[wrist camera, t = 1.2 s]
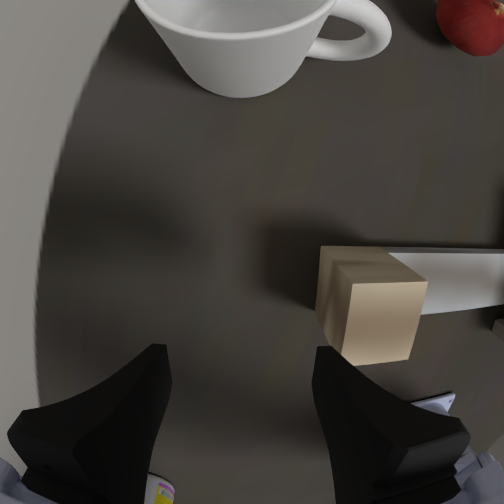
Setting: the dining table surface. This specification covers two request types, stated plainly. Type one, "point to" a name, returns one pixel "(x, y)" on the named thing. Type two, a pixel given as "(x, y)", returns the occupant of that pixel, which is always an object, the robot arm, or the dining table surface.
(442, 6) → the pomegranate
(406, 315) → the beige piece
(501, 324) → the green top stand
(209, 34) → the mug
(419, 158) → the dining table surface
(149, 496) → the supplement bottle
